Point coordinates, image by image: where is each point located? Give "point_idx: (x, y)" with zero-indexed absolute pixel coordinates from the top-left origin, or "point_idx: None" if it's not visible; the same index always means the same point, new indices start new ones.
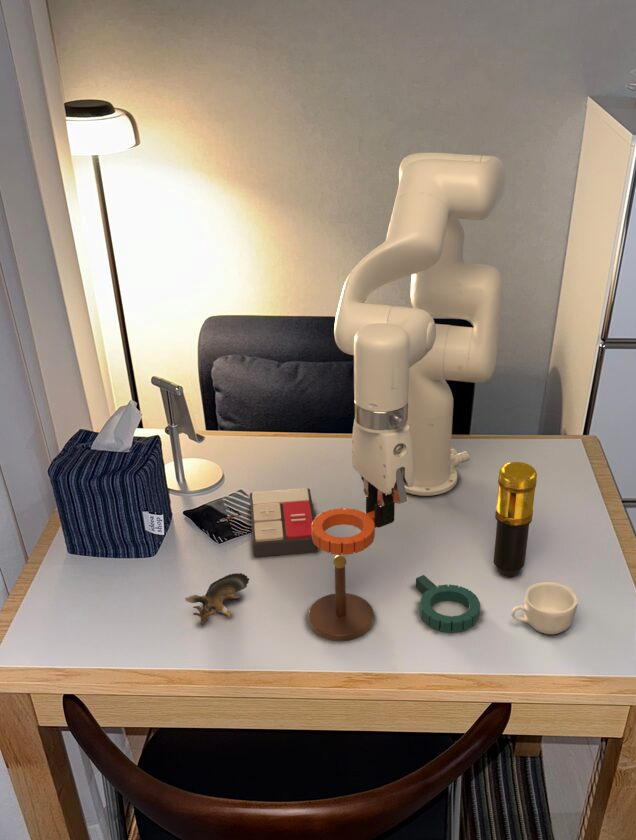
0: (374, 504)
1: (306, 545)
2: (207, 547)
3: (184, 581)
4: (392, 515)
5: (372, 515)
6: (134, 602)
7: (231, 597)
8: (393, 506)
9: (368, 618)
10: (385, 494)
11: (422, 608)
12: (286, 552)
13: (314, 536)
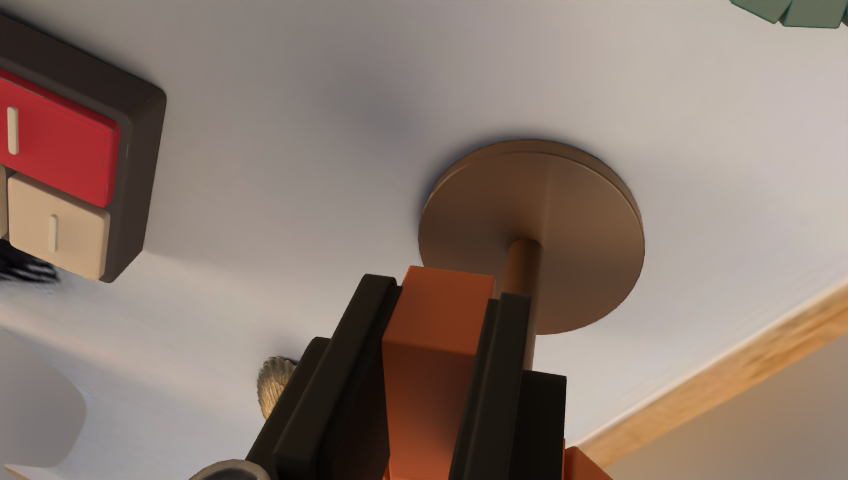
0: (369, 476)
1: (144, 142)
2: (70, 307)
3: (188, 397)
4: (563, 411)
5: (442, 468)
6: None
7: None
8: (511, 426)
9: (613, 203)
10: (322, 439)
11: (768, 18)
12: (149, 185)
13: None
